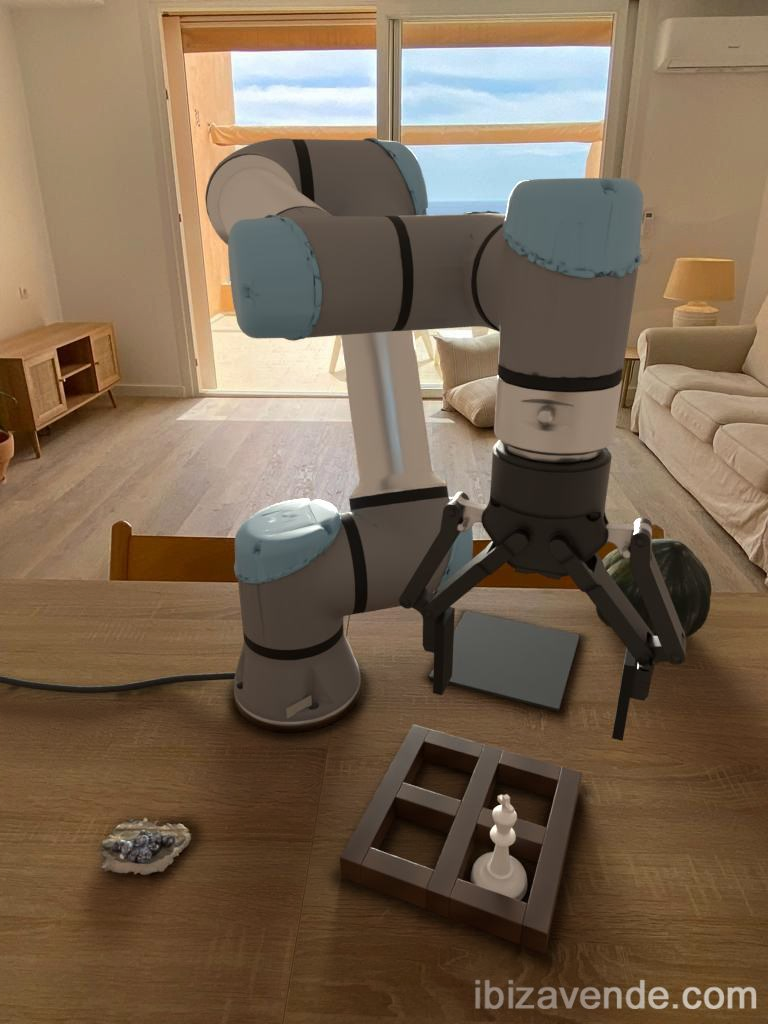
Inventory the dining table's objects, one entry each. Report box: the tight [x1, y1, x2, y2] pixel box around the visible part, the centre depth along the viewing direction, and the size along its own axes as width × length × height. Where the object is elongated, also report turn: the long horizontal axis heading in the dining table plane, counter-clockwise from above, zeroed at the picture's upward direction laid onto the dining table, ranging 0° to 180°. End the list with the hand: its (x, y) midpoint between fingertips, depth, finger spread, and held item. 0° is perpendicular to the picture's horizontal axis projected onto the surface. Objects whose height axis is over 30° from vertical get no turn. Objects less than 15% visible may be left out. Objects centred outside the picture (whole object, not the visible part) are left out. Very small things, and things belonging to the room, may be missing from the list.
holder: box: [339, 724, 583, 955], centre depth 65 cm, size 18×18×2 cm
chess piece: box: [470, 793, 529, 901], centre depth 59 cm, size 5×5×10 cm
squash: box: [594, 538, 712, 638], centre depth 93 cm, size 14×15×15 cm
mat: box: [428, 610, 581, 712], centre depth 90 cm, size 16×16×1 cm
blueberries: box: [100, 817, 192, 876], centre depth 64 cm, size 7×8×2 cm
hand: (526, 705), depth 54 cm, fingers open, 13 cm apart
